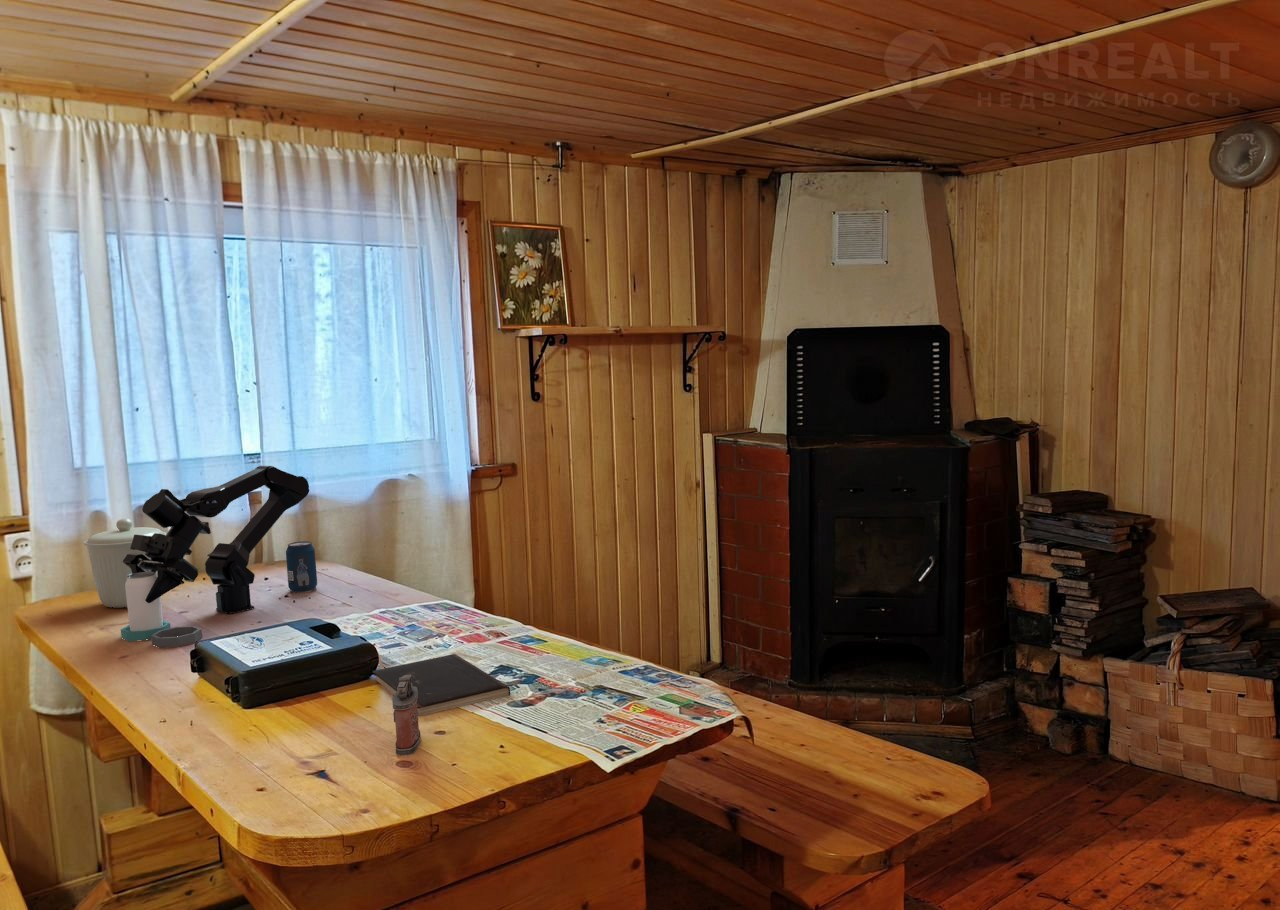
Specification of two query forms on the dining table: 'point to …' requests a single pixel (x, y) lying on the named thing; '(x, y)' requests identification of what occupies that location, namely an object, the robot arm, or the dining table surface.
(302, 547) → the soda can
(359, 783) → the dining table surface
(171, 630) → the socket
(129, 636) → the socket
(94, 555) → the canister
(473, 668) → the hardcover book
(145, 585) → the can
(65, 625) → the dining table surface
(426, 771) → the dining table surface
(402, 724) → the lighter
